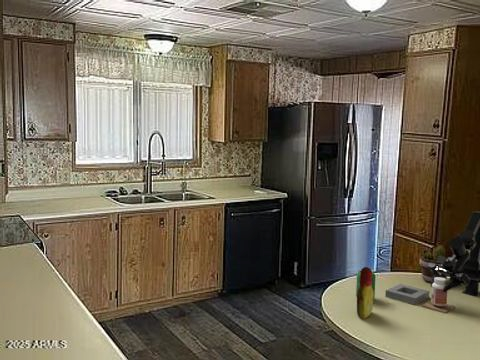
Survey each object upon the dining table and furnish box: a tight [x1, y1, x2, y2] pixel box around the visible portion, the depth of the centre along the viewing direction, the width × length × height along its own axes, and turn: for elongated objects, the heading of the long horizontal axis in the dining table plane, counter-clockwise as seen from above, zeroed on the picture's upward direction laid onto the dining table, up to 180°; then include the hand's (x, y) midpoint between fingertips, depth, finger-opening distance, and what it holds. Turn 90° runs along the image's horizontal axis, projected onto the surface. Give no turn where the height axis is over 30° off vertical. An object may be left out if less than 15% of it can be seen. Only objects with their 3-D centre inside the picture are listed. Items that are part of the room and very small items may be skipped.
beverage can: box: [355, 270, 376, 300], centre depth 217 cm, size 8×8×12 cm
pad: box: [421, 300, 456, 314], centre depth 209 cm, size 10×10×1 cm
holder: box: [385, 283, 430, 306], centre depth 221 cm, size 14×14×3 cm
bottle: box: [356, 266, 374, 319], centre depth 197 cm, size 12×6×20 cm, turn 154°
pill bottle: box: [430, 277, 448, 306], centre depth 209 cm, size 6×6×11 cm
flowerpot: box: [418, 244, 448, 284], centre depth 245 cm, size 14×15×20 cm
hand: (437, 289), depth 208 cm, fingers closed on pill bottle, 6 cm apart
